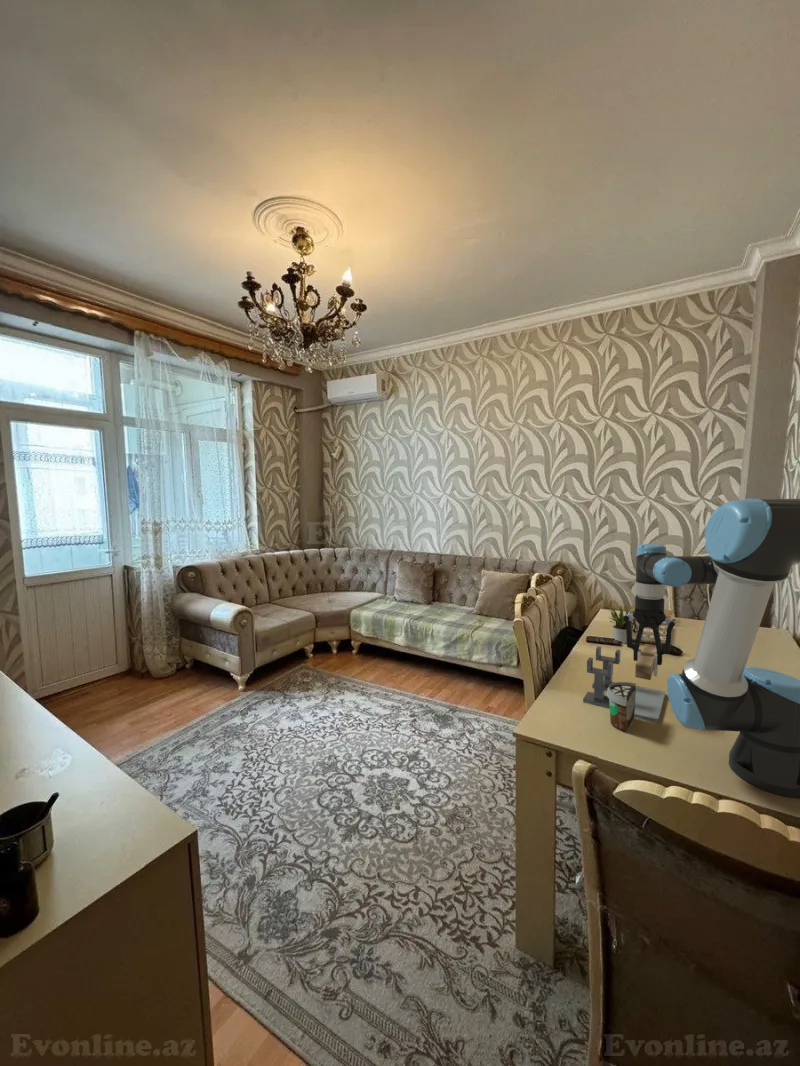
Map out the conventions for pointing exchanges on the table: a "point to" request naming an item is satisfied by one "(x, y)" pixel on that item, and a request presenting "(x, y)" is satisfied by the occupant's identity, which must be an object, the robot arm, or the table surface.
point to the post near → (598, 685)
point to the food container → (622, 704)
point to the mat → (648, 703)
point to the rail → (646, 662)
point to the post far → (605, 664)
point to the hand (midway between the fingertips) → (647, 672)
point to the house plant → (620, 624)
